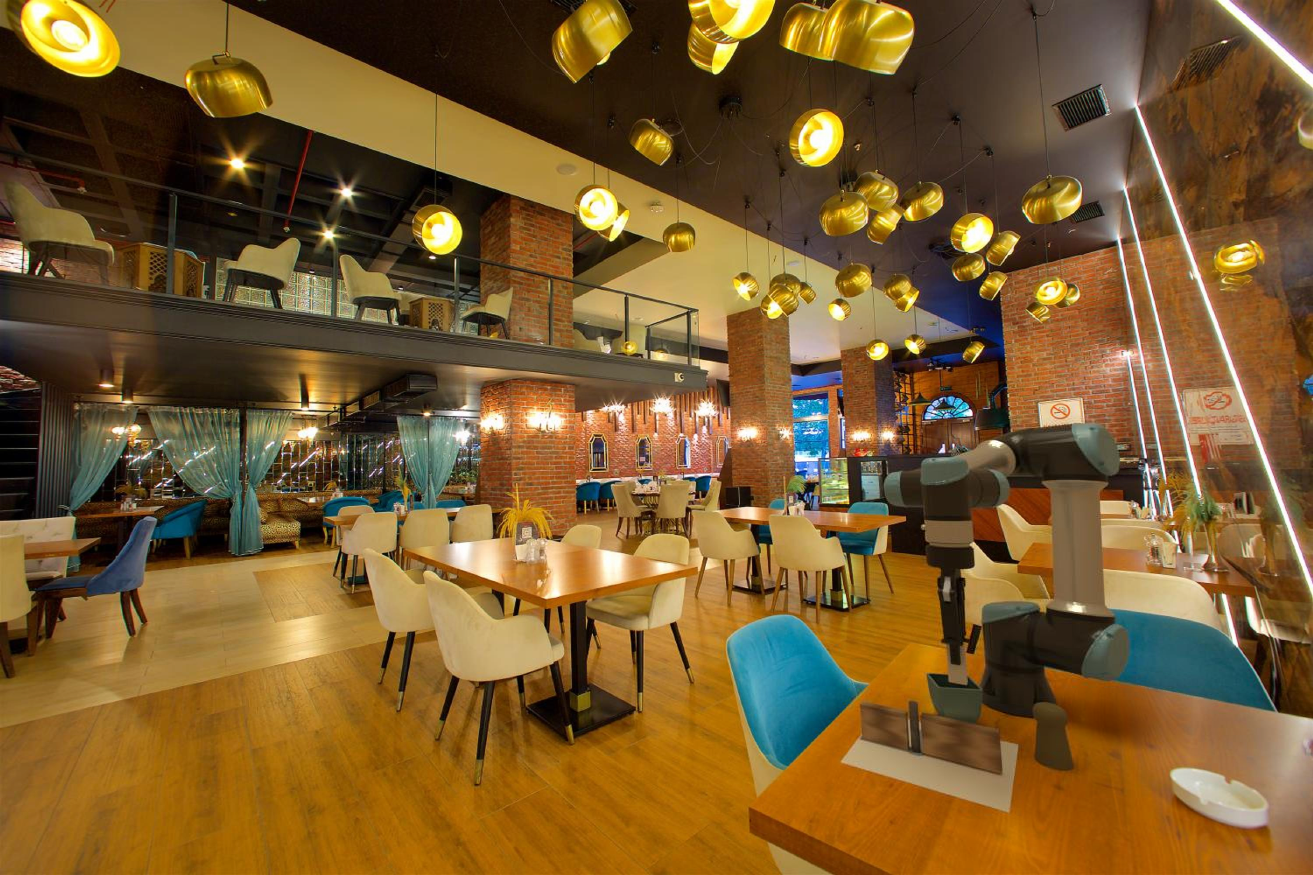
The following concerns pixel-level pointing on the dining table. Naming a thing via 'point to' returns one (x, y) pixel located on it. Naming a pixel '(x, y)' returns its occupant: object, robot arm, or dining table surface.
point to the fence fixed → (891, 725)
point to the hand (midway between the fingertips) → (958, 681)
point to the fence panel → (961, 742)
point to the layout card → (939, 771)
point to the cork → (1052, 737)
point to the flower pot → (955, 698)
